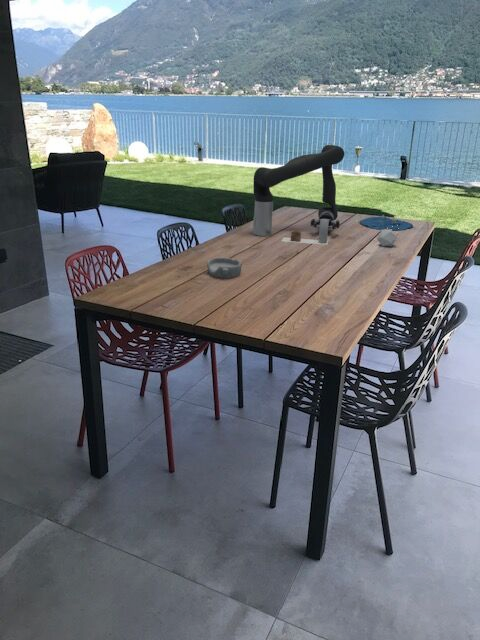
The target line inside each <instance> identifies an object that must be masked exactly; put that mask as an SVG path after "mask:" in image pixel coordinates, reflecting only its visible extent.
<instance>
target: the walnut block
mask: <svg viewBox="0 0 480 640" xmlns="http://www.w3.org/2000/svg"><path fill="white" fill-rule="evenodd" d="M290 238H291V241H296V242H300V240H301V239H302V230H297V229H292V230H291V232H290ZM296 242H295V243H296Z"/></svg>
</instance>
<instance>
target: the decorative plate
mask: <svg viewBox="0 0 480 640" xmlns="http://www.w3.org/2000/svg"><path fill="white" fill-rule="evenodd" d="M359 224H361V225H362V226H365V227H368V228H369V229H371V230H380V231H381V230H385V229H386V230H391V229H392V231H402V230H405V231H406V230H408V229H409V228H413V227H414V225H413V223H410V222H408V221H405V220H400V219H397V218H391V217H387V216H385V214H384V215H383V214H382V215H381V216H370V217H367V218H364V219H360V220H359ZM399 224H400V225H399ZM397 225H398V226H397ZM392 226H393V227H392ZM385 227H386V228H385ZM387 227H388V229H387ZM398 228H399V229H398Z"/></svg>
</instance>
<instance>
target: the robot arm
mask: <svg viewBox="0 0 480 640" xmlns="http://www.w3.org/2000/svg"><path fill="white" fill-rule="evenodd" d="M344 157H345V150H344V149H343V147H341V146H339V145H335V144H326V145H324V146H323V147H322V149H321V152H319V153H309V154H304V155H299V156H297V157H294V158H292V159H290V160H289V161H287V162H286V164H284V165H282V166H279V167H274V168H270V167H269V168H268V167H262V166H261V167H258V168H257V169H256V170H255V172H254V175H253V197H254V215H253V220H252V221H253V222H252V235H254V236H259V237H269V236H271V235H272V232H273V230H272V228H273V211H274V209H273V207H274V195H273V193H272V192H271V191H270V188H273V187H274V186H277V185H279V184H281V183H283V182H286V181H287V180H292V179H294V178H298V177H300V176H304V175H307V174H309V173H310V172H314V171H316V170H319V169H321V172H322V174H321V175H322V197H321V198H322V199H321V200H322V202H323V203H324V204H327V205H330V206H331V207H327V206H326V207H325V206H322V207H320V208H319V209H318V211H317V215H318V216H317V217H318V219H317V220H316V219H315V218H312V219H310V227H314V228H315V229H317V228H320V219H328V220H329V224H328V229H329V228H331V229H332V230H335V229H336V228H337V229H339V228H340V220H337V218H338V216H339V215H338V214H339V213H338V209H337V203H336V196H337V195H336V193H337V186H336V181H335V178H334V174H333V165H338V164H339V163H341V162H342V161H343V159H344Z"/></svg>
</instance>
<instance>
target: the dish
mask: <svg viewBox="0 0 480 640" xmlns="http://www.w3.org/2000/svg"><path fill="white" fill-rule="evenodd" d="M206 263H207V264H206V267H207V271H208V274H209V275H210V276H211V277H216V278H219V277H221V278H220V279H230V278H231V279H232V278H235V277H238V276H240V275H241V274H242V273H241V272H242V265H243V263H242V261H240V260H238V259H233V258H230V257H214V258H213V257H212V258H210V259H208V260H207V262H206Z"/></svg>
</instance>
